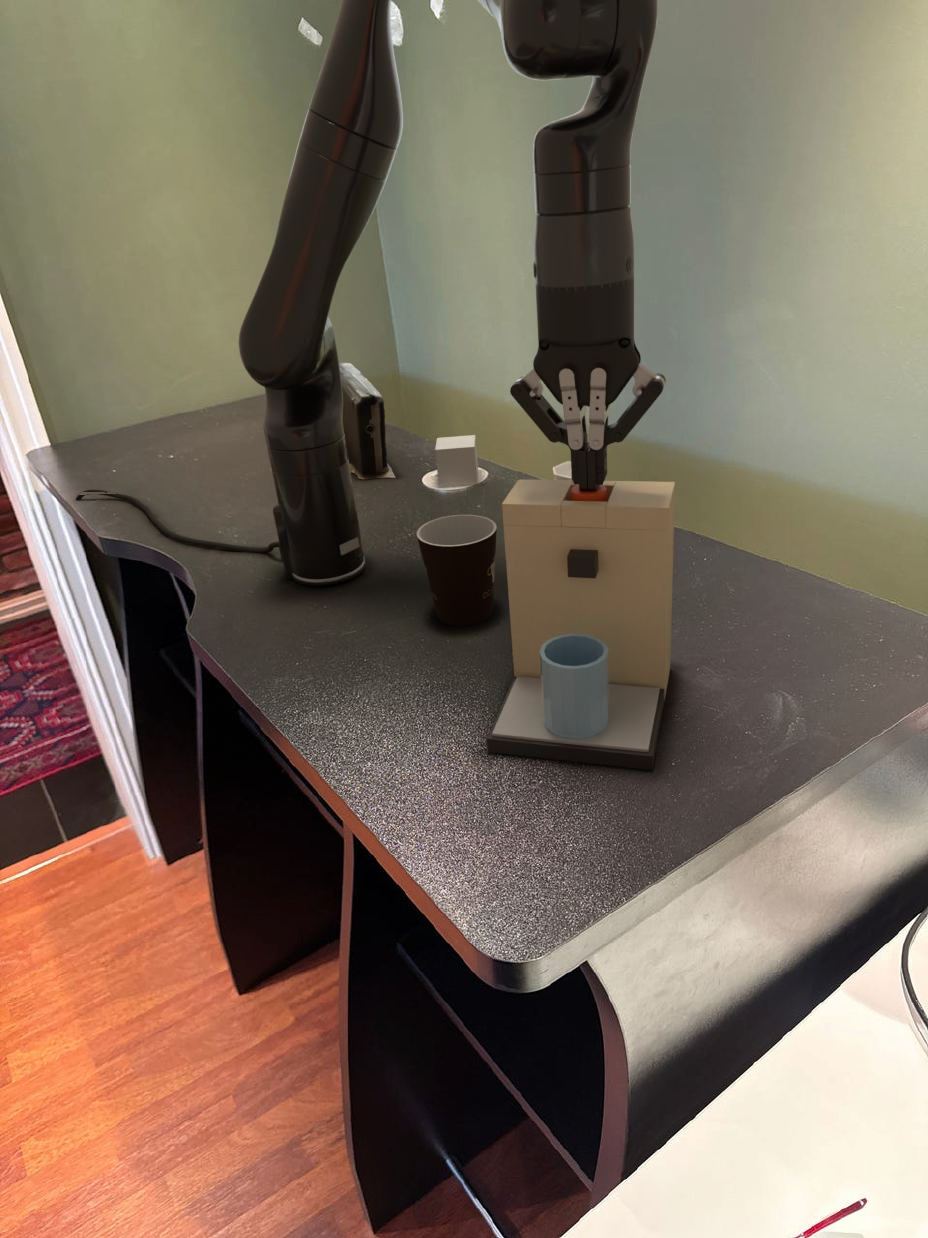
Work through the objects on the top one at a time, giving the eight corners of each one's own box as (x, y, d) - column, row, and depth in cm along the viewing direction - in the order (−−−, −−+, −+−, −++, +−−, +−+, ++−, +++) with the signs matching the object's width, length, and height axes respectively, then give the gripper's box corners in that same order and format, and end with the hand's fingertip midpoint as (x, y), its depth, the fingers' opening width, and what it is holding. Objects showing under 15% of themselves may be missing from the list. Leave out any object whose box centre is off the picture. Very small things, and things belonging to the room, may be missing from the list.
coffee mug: (477, 636, 94) (469, 551, 89) (411, 621, 98) (400, 539, 94) (529, 590, 103) (524, 510, 98) (466, 578, 107) (458, 501, 102)
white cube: (441, 474, 142) (437, 437, 139) (478, 471, 141) (475, 434, 138) (438, 487, 136) (434, 449, 133) (477, 484, 136) (474, 446, 133)
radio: (395, 477, 142) (383, 384, 135) (342, 486, 141) (326, 392, 134) (377, 438, 162) (366, 355, 155) (330, 445, 161) (317, 362, 154)
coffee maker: (487, 752, 76) (468, 552, 67) (529, 657, 90) (518, 479, 81) (652, 770, 72) (655, 560, 63) (670, 668, 86) (675, 481, 76)
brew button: (569, 518, 76) (568, 494, 75) (575, 505, 79) (574, 482, 78) (604, 519, 75) (603, 495, 74) (609, 506, 78) (608, 482, 77)
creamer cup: (550, 699, 79) (547, 631, 76) (613, 704, 78) (612, 635, 75) (537, 735, 75) (533, 665, 72) (603, 742, 73) (602, 670, 70)
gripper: (676, 262, 69) (672, 474, 77) (512, 271, 73) (524, 472, 81) (668, 277, 63) (663, 506, 71) (488, 286, 66) (504, 502, 75)
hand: (589, 487), depth 76 cm, fingers closed
